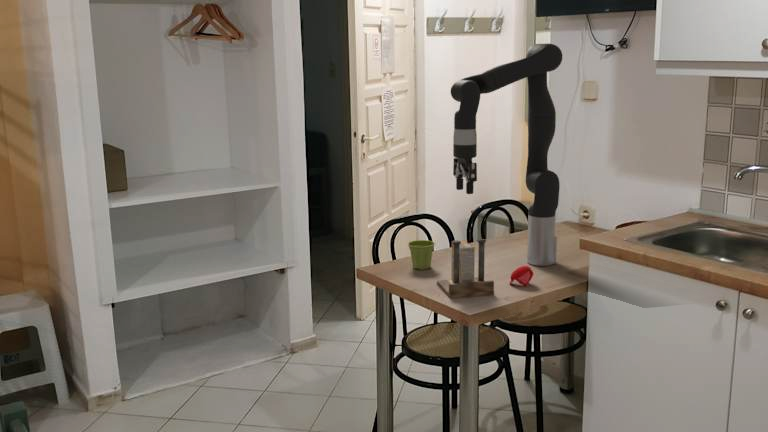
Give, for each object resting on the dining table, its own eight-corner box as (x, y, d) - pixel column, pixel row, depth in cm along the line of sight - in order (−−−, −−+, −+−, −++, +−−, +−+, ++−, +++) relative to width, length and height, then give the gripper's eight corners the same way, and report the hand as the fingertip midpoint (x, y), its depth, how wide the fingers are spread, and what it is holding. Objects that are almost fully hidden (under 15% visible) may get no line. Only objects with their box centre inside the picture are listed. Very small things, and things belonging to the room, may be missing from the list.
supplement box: (450, 281, 242) (450, 241, 239) (464, 279, 244) (464, 240, 241) (460, 288, 234) (460, 247, 232) (474, 286, 236) (475, 246, 233)
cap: (534, 271, 244) (518, 261, 245) (537, 270, 239) (521, 260, 239) (521, 292, 244) (505, 282, 244) (524, 292, 238) (508, 281, 238)
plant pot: (410, 272, 257) (410, 247, 256) (405, 264, 267) (405, 240, 265) (437, 270, 259) (437, 245, 257) (431, 263, 268) (431, 239, 266)
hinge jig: (478, 280, 246) (478, 230, 243) (494, 294, 232) (494, 241, 228) (436, 284, 244) (436, 233, 240) (450, 298, 229) (450, 245, 226)
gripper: (484, 144, 239) (484, 194, 243) (467, 139, 253) (466, 187, 256) (462, 145, 237) (462, 196, 241) (446, 140, 251) (446, 188, 254)
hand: (464, 191), depth 248 cm, fingers open, 8 cm apart
